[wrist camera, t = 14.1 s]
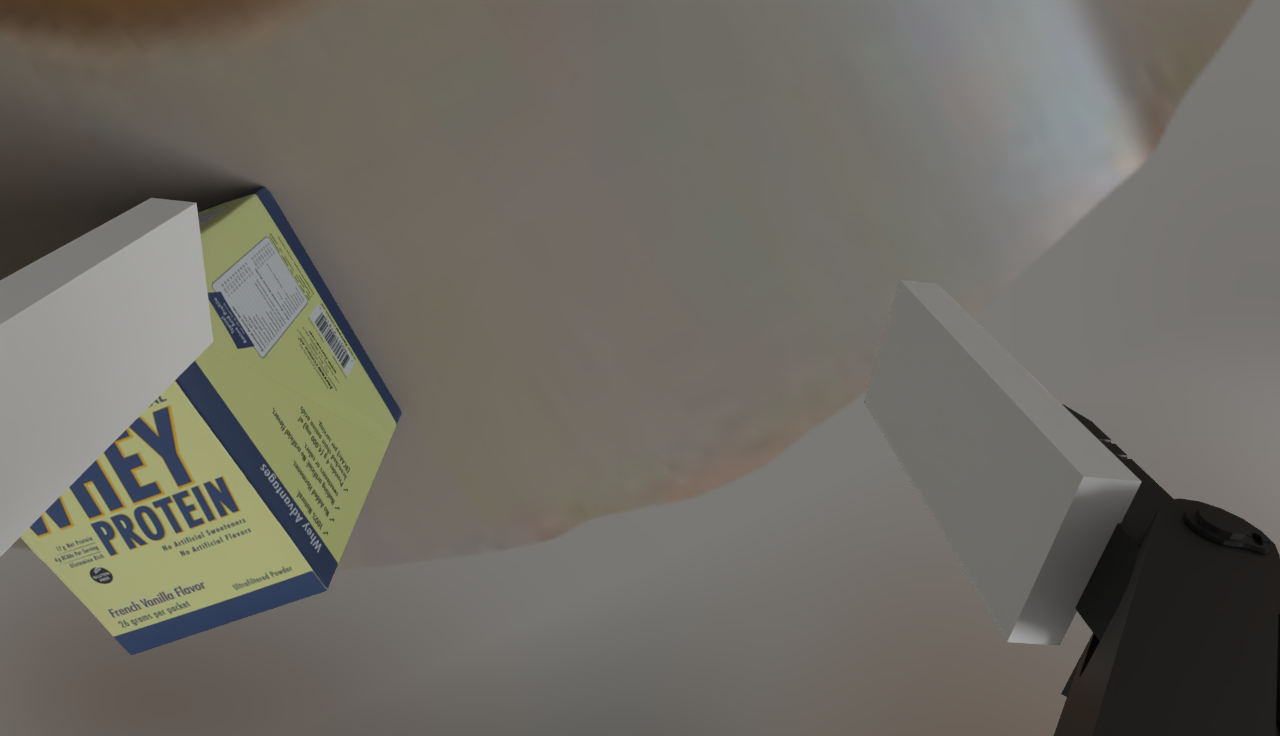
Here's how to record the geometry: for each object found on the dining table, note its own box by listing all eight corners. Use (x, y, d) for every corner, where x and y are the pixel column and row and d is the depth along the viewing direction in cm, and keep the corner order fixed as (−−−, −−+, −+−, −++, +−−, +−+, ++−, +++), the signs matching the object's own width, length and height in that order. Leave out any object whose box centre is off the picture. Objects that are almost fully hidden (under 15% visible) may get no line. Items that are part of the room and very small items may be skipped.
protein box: (258, 468, 50) (131, 663, 37) (97, 249, 43) (-135, 386, 30) (407, 415, 49) (334, 595, 35) (266, 179, 42) (106, 289, 28)
